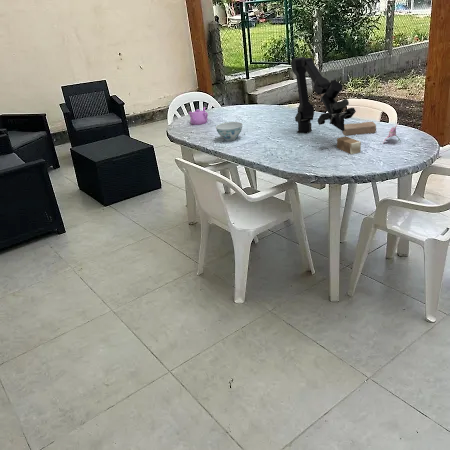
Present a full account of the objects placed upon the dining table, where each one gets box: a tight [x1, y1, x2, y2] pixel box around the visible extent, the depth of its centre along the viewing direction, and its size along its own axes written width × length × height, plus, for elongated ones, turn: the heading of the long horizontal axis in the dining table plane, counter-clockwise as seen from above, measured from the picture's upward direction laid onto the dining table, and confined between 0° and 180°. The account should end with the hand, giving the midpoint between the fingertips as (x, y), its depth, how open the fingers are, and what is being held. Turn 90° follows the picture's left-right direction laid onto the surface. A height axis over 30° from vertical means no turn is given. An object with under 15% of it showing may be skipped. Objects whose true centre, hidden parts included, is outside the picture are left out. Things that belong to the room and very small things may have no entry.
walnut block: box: [336, 135, 362, 155], centre depth 214 cm, size 5×5×12 cm
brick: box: [342, 121, 377, 136], centre depth 238 cm, size 17×8×5 cm, turn 85°
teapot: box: [188, 106, 209, 126], centre depth 292 cm, size 12×14×9 cm
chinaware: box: [215, 121, 243, 142], centre depth 252 cm, size 15×15×8 cm
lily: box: [382, 122, 401, 144], centre depth 218 cm, size 12×12×10 cm
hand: (343, 130), depth 215 cm, fingers closed
